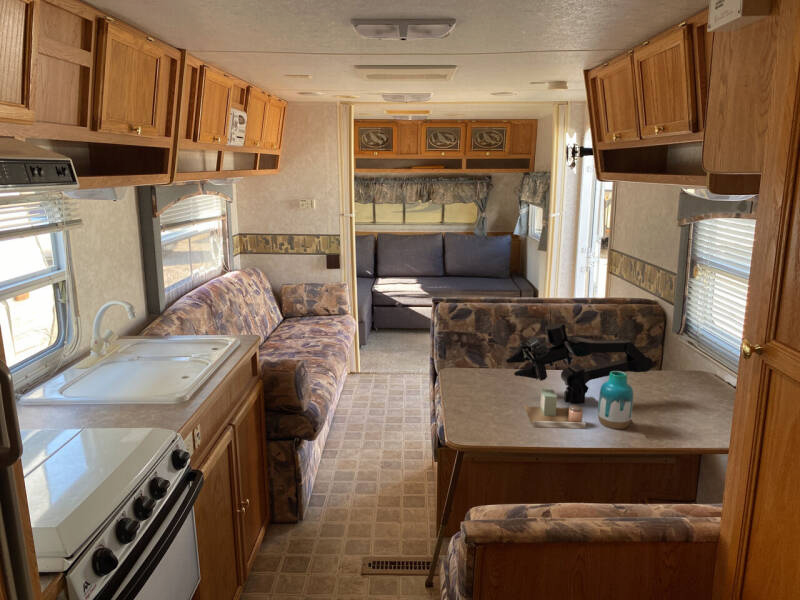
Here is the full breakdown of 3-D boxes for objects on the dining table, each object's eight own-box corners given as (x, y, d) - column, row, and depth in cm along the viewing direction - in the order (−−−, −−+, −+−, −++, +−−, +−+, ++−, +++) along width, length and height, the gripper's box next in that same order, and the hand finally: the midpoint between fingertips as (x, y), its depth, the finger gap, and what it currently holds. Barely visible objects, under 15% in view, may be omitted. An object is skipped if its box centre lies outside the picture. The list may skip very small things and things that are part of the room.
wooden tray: (572, 411, 206) (572, 403, 205) (584, 432, 189) (585, 423, 189) (523, 410, 206) (524, 401, 206) (532, 431, 190) (533, 421, 189)
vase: (612, 419, 200) (617, 366, 196) (637, 431, 191) (643, 376, 187) (589, 424, 196) (594, 370, 191) (613, 437, 186) (619, 380, 182)
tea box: (539, 407, 205) (541, 388, 204) (551, 407, 205) (552, 389, 204) (543, 415, 199) (545, 396, 197) (555, 415, 198) (557, 396, 197)
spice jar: (579, 421, 195) (581, 404, 193) (583, 426, 190) (584, 410, 189) (566, 420, 195) (567, 404, 193) (569, 426, 190) (571, 409, 189)
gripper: (538, 324, 212) (498, 337, 212) (558, 347, 195) (514, 361, 195) (543, 350, 217) (503, 362, 216) (563, 374, 200) (520, 388, 199)
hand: (510, 367), depth 207 cm, fingers open, 9 cm apart
